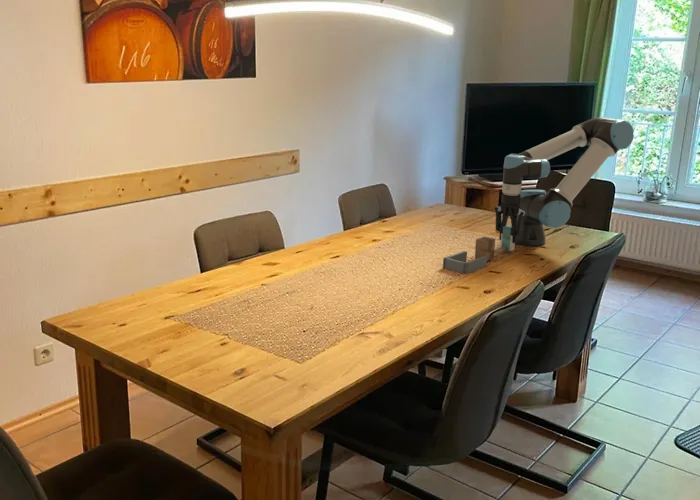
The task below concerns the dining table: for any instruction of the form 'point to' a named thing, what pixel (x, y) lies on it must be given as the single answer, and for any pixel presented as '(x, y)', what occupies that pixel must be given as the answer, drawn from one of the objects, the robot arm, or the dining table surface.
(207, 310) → the dining table surface
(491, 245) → the tethered block
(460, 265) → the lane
